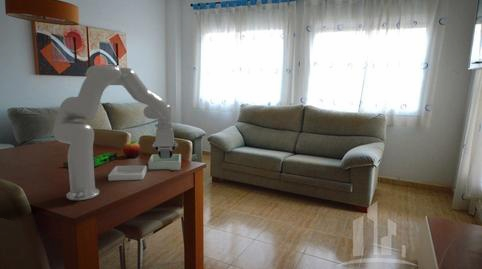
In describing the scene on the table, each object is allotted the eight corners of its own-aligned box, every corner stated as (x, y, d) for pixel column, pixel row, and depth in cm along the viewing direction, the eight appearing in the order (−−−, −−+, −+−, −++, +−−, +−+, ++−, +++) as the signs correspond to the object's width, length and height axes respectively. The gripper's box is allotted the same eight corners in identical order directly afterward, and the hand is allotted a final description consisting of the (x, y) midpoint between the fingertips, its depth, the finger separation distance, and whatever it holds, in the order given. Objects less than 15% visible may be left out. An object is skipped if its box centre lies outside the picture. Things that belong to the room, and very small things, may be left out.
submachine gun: (48, 162, 170) (89, 162, 166) (83, 151, 199) (119, 151, 195) (49, 170, 171) (90, 171, 167) (84, 159, 199) (120, 159, 195)
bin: (179, 169, 172) (179, 161, 171) (148, 170, 170) (148, 162, 169) (180, 162, 189) (180, 154, 188) (152, 162, 186) (152, 154, 185)
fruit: (119, 157, 197) (119, 142, 195) (131, 154, 207) (130, 139, 205) (133, 159, 193) (133, 143, 191) (144, 155, 203) (144, 140, 201)
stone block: (169, 158, 176) (169, 149, 176) (160, 158, 176) (160, 150, 175) (170, 156, 181) (170, 147, 180) (161, 156, 180) (161, 148, 180)
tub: (142, 181, 153) (142, 174, 152) (108, 182, 150) (108, 175, 149) (147, 171, 168) (146, 165, 167) (116, 172, 166) (116, 166, 165)
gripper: (148, 127, 170) (149, 159, 173) (179, 127, 173) (180, 158, 176) (150, 125, 178) (151, 156, 181) (180, 125, 180) (180, 155, 183)
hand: (165, 157), depth 178 cm, fingers closed on stone block, 5 cm apart
